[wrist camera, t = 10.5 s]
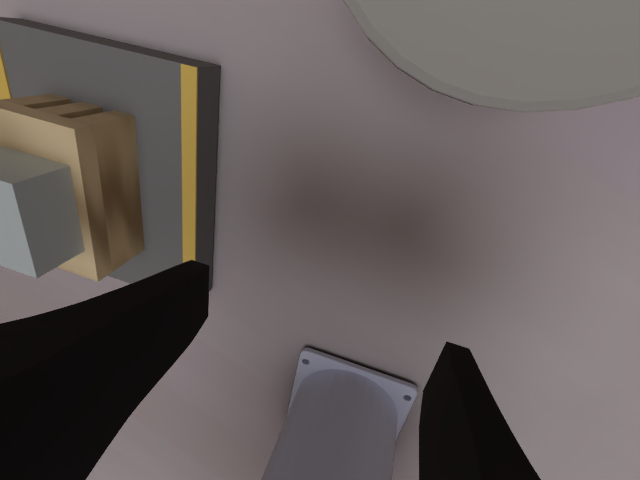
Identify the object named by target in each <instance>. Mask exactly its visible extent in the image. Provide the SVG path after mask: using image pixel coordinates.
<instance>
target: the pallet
mask: <svg viewBox="0 0 640 480" xmlns="http://www.w3.org/2000/svg"><path fill="white" fill-rule="evenodd" d="M3 146H4V147H7V148H11V149H14V150H18V151H21V152H25V153H28V154H31V155H35V156H38V157H42V158H45V159H49V160H52V161H55V162H59V163H62V164H66V165H69V166H70V170H71V175H72V181H73V187H74V192H75V198H76V204H77V209H78V215H79V221H80V226H81V232H82V238H83V243H84V249H85V251H84V252H82V253H80V254H79V255H77V256H75V257H73V258H72V259H70V260H68V261H66V262H65V263H63V264H61V265H59V266H58V268H60V269H63V270H66V271H69V272H72V273H75V274H77V275H80V276H83V277H86V278H89V279H92V280H95V281H97V282H98V281H100V280H101V279H103V278H104V277H106V276H107V275H109V274H110V273H111V272H113V271H114V270H116V269H117V268H119V267H120V266H122V265H123V264H125V263H126V262H127V261H129V260H130V259H132V258H133V257H135V256H136V255H138V254H139V253H141V252H142V251H143V250H144V236H143V223H142V209H141V196H140V182H139V168H138V155H137V141H136V127H135V116H133V115H129V114H126V113H122V112H118V111H114V110H113V111H108V112H103V111H102V107H99V106H96V105H92V104H88V103H84V102H78V103H71V99H69V98H66V97H62V96H58V95H54V94H44V95H35V96H26V97H18V98H9V99H0V147H3Z"/></svg>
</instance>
